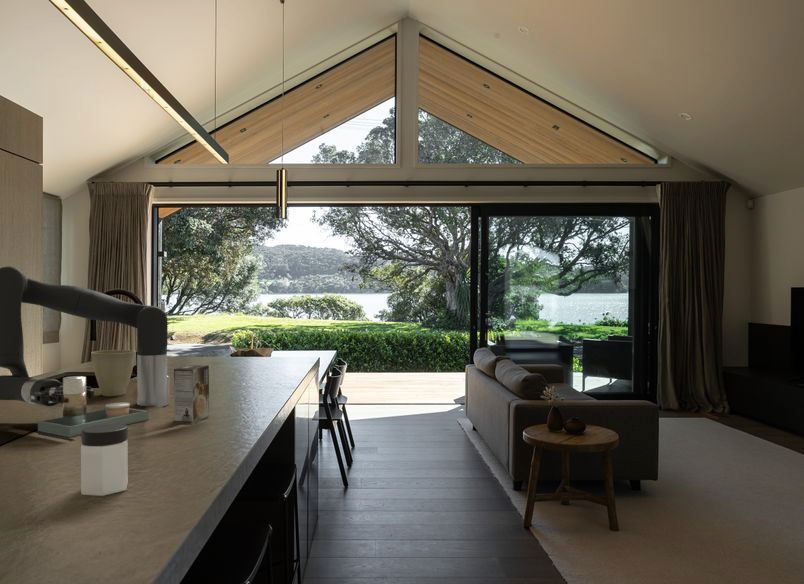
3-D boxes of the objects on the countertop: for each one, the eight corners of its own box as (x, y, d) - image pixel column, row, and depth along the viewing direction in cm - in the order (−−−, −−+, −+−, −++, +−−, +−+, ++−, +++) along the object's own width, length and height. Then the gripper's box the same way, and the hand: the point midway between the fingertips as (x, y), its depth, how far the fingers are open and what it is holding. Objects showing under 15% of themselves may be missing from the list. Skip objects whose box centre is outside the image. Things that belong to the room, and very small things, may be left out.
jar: (118, 479, 127) (117, 421, 127) (137, 487, 122) (137, 426, 122) (72, 490, 121) (71, 428, 121) (90, 499, 115) (90, 435, 115)
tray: (117, 418, 188) (117, 406, 188) (148, 423, 181) (148, 411, 181) (38, 434, 167) (37, 421, 167) (69, 440, 160) (69, 427, 160)
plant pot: (124, 398, 222) (124, 353, 221) (83, 398, 222) (83, 353, 222) (142, 391, 236) (142, 349, 236) (104, 391, 237) (103, 349, 237)
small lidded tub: (120, 417, 184) (120, 401, 184) (134, 419, 181) (134, 403, 181) (100, 421, 179) (100, 405, 179) (115, 423, 176) (115, 407, 176)
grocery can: (78, 426, 173) (78, 375, 172) (91, 428, 170) (90, 377, 170) (58, 430, 168) (58, 378, 168) (71, 432, 165) (70, 379, 165)
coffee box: (190, 417, 189) (190, 364, 188) (209, 418, 187) (209, 365, 187) (173, 424, 180) (173, 368, 179) (193, 425, 178) (193, 369, 178)
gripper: (16, 381, 170) (51, 386, 162) (66, 375, 182) (101, 379, 174) (16, 409, 170) (52, 415, 162) (66, 400, 182) (102, 406, 174)
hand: (77, 396), depth 168 cm, fingers open, 8 cm apart
